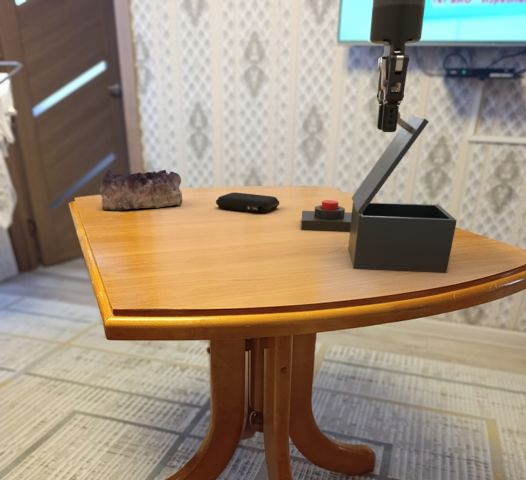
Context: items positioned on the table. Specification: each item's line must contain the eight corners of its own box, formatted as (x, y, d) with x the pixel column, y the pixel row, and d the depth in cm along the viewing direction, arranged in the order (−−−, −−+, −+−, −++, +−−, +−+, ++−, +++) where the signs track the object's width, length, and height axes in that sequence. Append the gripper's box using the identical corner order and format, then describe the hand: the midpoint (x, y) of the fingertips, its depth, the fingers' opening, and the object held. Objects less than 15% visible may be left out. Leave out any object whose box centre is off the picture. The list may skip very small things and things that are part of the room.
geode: (112, 215, 118) (103, 170, 115) (97, 213, 127) (88, 171, 124) (190, 204, 128) (184, 162, 125) (171, 202, 138) (165, 163, 134)
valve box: (430, 251, 97) (438, 204, 93) (446, 272, 85) (456, 220, 81) (348, 248, 98) (352, 201, 94) (353, 268, 86) (358, 216, 82)
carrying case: (210, 209, 126) (264, 216, 121) (210, 197, 125) (264, 203, 120) (230, 202, 135) (281, 208, 130) (230, 190, 134) (282, 196, 128)
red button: (337, 208, 113) (338, 200, 113) (338, 211, 110) (338, 203, 109) (321, 207, 114) (321, 199, 113) (321, 211, 110) (322, 203, 110)
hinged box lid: (413, 117, 87) (390, 100, 86) (429, 121, 75) (402, 101, 74) (354, 200, 93) (332, 184, 93) (361, 215, 82) (336, 197, 81)
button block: (353, 222, 118) (355, 204, 116) (357, 232, 109) (359, 213, 107) (301, 220, 118) (302, 202, 117) (301, 230, 109) (302, 211, 108)
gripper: (435, -4, 68) (418, 134, 76) (415, 11, 81) (402, 128, 88) (378, -3, 68) (367, 134, 76) (367, 12, 81) (358, 128, 89)
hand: (386, 130), depth 82 cm, fingers closed on hinged box lid, 5 cm apart
